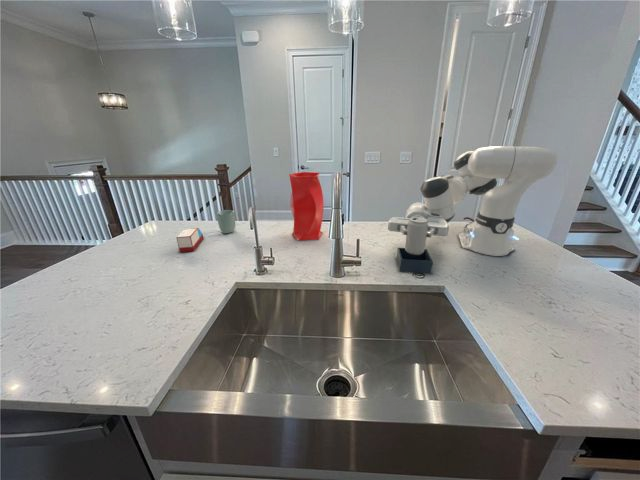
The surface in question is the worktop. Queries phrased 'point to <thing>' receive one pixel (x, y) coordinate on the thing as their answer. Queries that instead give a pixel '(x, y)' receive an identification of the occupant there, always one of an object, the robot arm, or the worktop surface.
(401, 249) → the tote
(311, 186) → the vase
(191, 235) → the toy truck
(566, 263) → the worktop surface
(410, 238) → the beverage can
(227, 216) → the cup
